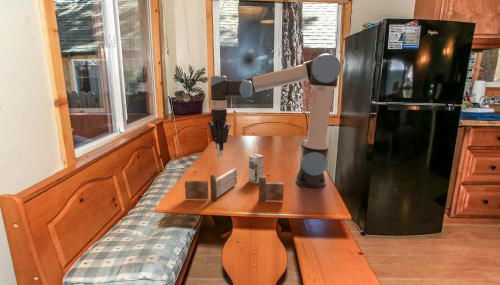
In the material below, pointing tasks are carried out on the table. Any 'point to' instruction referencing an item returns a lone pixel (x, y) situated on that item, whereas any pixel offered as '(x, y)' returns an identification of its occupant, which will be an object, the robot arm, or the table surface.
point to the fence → (200, 189)
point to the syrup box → (255, 167)
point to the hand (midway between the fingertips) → (219, 156)
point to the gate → (226, 181)
